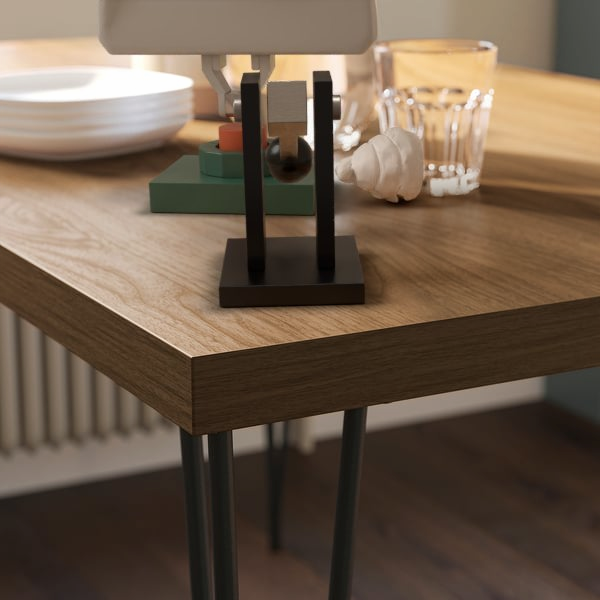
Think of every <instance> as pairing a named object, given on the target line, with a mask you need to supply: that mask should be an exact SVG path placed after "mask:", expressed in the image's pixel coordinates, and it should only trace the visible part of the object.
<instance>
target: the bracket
mask: <svg viewBox="0 0 600 600" xmlns="http://www.w3.org/2000/svg"><path fill="white" fill-rule="evenodd" d="M239 89H240V91H241V97H237V98H234V99H233V112H234V117H233V123H242V142H243V168H244V193H245V214H244V216H245V217H244V218H245V237H233V238H232V237H231V238H230V237H229V238H227V239H226V244H225V249H224V255H223V261H222V266H221V272H220V276H219V277H220V278H219V284H218V303H219V304H218V305H219V308H233V307H234V308H235V307H237V308H238V307H273V306H274V307H275V306H311V305H312V306H313V305H349V304H351V305H353V304H354V305H356V304H365V303H366V283H365V278H364V273H363V268H362V263H361V259H360V254H359V250H358V249H359V248H358V244H357V240H356V235H354V234H349V235H347V234H345V235H336V220H335V219H336V218H335V217H336V216H335V215H336V213H335V211H336V210H335V151H334V149H335V148H334V147H335V145H334V143H335V140H334V139H335V138H334V121H341V119H342V98H341V94H334V82H333V78H332V74H331V71H330V70H312V113H313V156H314V172H315V213H314V217H315V219H314V220H315V235H310V236H309V235H308V236H306V235H304V236H272V237H271V236H270V237H269V236H268V237H267V228H266V214H265V196H264V166H263V137H262V124H263V113H262V112H263V106H262V107H261V100H262V91H261V78H260V72H259V71H255V72H252V71H251V72H243V73H242V76H241V81H240V83H239Z"/></svg>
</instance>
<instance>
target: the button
mask: <svg viewBox="0 0 600 600" xmlns="http://www.w3.org/2000/svg"><path fill="white" fill-rule="evenodd" d="M262 137H263V149H264V148H267V147H268V146H267V138H268V125H267V124H265V123H262ZM218 140H219V149H221V150H227V151H243V142H242V123H235V122H230V123H226V124H222V125H219V126H218Z"/></svg>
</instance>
